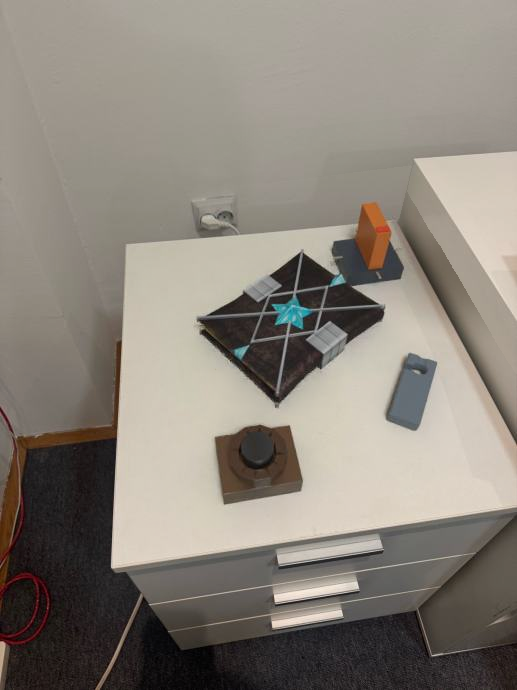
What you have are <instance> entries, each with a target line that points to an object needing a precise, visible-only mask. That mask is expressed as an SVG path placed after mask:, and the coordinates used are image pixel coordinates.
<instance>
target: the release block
mask: <svg viewBox="0 0 517 690" xmlns="http://www.w3.org/2000/svg"><path fill="white" fill-rule="evenodd" d="M256 431H259V432H263V433H266V434H267V435H269V436H270V437H271V439H272V440H273V443H274V455H273V459H272V461H271V462H270V463H269V464H268V465H267V466H265V467H262V468H253V467H250V466H249V465H247V464H246V463H245V462H244V460H243V458H242V455H241V443H242V440H243V439H244V437H245V436H246V435H248V434H249V433H252V432H256ZM214 443H215V451H216V458H217V466H218V472H219V480H220V488H221V496H222V501H223V505H230V504H231V505H232V504H236V503H243V502H247V501H254V500H259V499H265V498H271V497H276V496H282V495H288V494H293V493H299V492H302V489H303V483H304V479H303V474H302V470H301V466H300V461H299V458H298V454H297V449H296V445H295V441H294V437H293V432H292V428H291V425H290V424H287V425H282V426H275V427H269V426H267V425H263V424H255V425H249V426H245V427H243V428H242V429H240V430H239V431H238V432H236V433H232V434H225V435H220V436H215V437H214Z"/></svg>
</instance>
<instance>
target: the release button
mask: <svg viewBox="0 0 517 690" xmlns="http://www.w3.org/2000/svg"><path fill="white" fill-rule="evenodd" d="M241 455H242V458H243V460H244V462H245V463H246V464H247V465H249V466H250V467H253V468H262V467H265V466H267V465H268V464H269V463H270V462H271V461H272V459H273V455H274V443H273V440H272V439H271V437H270V436H269V435H267V434H266V433H263V432H259V431H256V432H252V433H249V434H248V435H246V436H245V437H244V439H243V440H242V443H241Z"/></svg>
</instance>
